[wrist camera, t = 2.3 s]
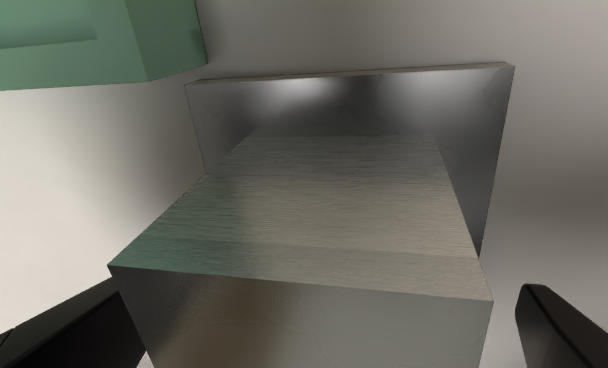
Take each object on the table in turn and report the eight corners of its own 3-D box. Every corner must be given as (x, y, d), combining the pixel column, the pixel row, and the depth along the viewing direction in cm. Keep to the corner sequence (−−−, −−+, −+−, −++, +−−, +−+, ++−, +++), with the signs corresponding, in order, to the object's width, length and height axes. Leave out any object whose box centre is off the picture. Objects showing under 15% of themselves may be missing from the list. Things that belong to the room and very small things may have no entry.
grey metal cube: (420, 286, 12) (445, 508, 6) (269, 273, 13) (192, 448, 8) (433, 135, 9) (493, 301, 4) (245, 137, 10) (106, 265, 5)
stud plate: (462, 308, 13) (493, 436, 9) (244, 286, 15) (195, 382, 11) (505, 61, 9) (595, 104, 5) (196, 80, 11) (94, 120, 7)
